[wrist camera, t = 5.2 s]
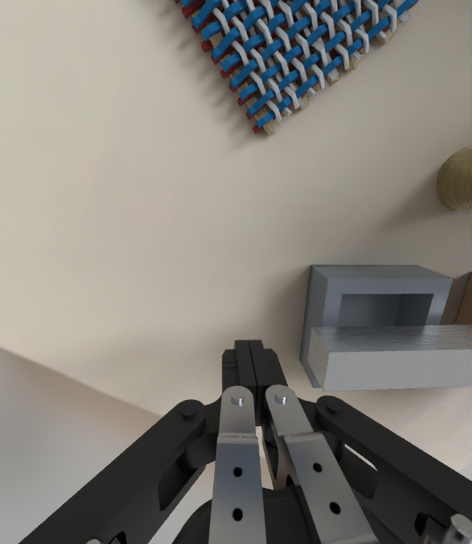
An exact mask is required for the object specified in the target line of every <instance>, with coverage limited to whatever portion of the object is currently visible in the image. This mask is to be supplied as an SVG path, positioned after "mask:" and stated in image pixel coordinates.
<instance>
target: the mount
mask: <svg viewBox="0 0 472 544" xmlns="http://www.w3.org/2000/svg"><path fill="white" fill-rule="evenodd" d="M455 325H472V272H471V275H470V278H469V281H468V284H467V287H466V290H465V293H464V296H463V300H462V303H461V306H460V309H459V312H458V315H457V318H456V322H455Z"/></svg>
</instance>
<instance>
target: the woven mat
mask: <svg viewBox="0 0 472 544" xmlns="http://www.w3.org/2000/svg"><path fill="white" fill-rule="evenodd" d="M179 1H180V0H175V2H176V3H178V2H179ZM418 1H419V0H406V1H404V2H403V0H378V2H377V3H375V0H181V2H182V3H183V5H184V7H183V8H182V13H183V14H184V16H185V18H188V17H189V16H190V15H192V17H193V18H192V24H193V25H192V28H193V30H194V31H195V33H196V35H197V34H198V33H199V32H200V31H201V32H200V33H201V34H202V36H203V37H204V39H205V41H203V42H202V46H201V47H202V48H203V50H204V51H205V52H206V51H209V50H211V49H213V48H214V50H213V51H212V56H211V59H212V61H213V62H214V64H216V63H217V62H219V61H220V62H221V64H220V65H221V66H222V68H223V70H221V71H220V74H221V75H222V77H223V78H224V79H225V78H226V77H227V76H229V77H230V78H231V82H230V85H229V88H230V90H231V91H232V93H233V92H234V91H235V90H236V89H237V90H238V91H239V96H240V98H238V100H237V102H238V103H239V105H240V106H241V105H243V104H244V103H246V104H247V106H248V108H249V109H248V110H247V113H246V116H247V117H248V119H250V118H251V117H253V116H254V117H255V119H256V120H257V122H256V123H257V125H255V126H254V127H253V131H254V132H255V134H256V133H257V132H259V131H260V130H261V129H263V128H264V130H265V131H266V133H267V135H268V136H270V135H272V134H274V133H275V129H276V127H275V124H274V121H273V120H274V119H275V118H276V119H277V122H278V123H280V122H281V121H282V118H281V116H282V117H285V116H286V115H287V116H289V115H290V114H291V113H292V112H291V111H290V110H289V109H288V107H289V106H290V105H292V104H294V107H295V109H297V108H300V109H302V110H303V109H304V108H305V107H306V106H308V102H309V97H308V96H306V95H305V93H307V92H308V93H309V94H310V95H311V96H312V97H313V96H314V95H315V94H316V91H318V90H319V83H320V88H321V89H323V88H324V87H325V83H324V78H325V77H326V78H327V80H328V82H329V84H330V86H332V85H333V84H334V83H336V82H337V81H338V80H339V79H340V77H339V74H338V72H337V70H336V69H337V68H338V67H339V66H340V65H342V64H343V63H344V68H345V70H346V71H350V70H354V69H355V68H356V66H357V64H358V60H359V59H360V58H361V55H360V54H359V53H358V51H360V53H361V54H362V53H364V52H365V53H366V54H367V53H368V52H369V49H370V47H369V42H370V41H371V40H372V39H373V38H375V37H376V38H377V39H378V41H379V42H381V43H384V44H386V43H387V42H388V41H389V40H390V39H391V38H392V35H393V32H394V31H396V29H397V26H398V25H399V24H401V23H402V24H403V25H404V24H405V23H406V22H407V21H408V19H409V15H408V12H407V11H408V10H409V9H410V8H411V7H412V6H414V5H415V4H416V3H417V2H418ZM233 2H234V3H233ZM259 2H260V3H261V4H263V5H262V6H261V7H258V6H256V5H257V4H258V3H259ZM313 5H314V7H315V8H314V9H313V8H312V6H313ZM202 6H203V7H202ZM338 6H340V9H339V10H338ZM361 6H362V7H363V9H364V13H363V14H361ZM282 10H283V11H284V13H283V12H282ZM331 10H332V12H331ZM382 10H384V11H385V12H386V13H387V14H388V17H386V18H384V19H382V17H381V15H380V12H381V11H382ZM216 17H217V18H218V19H219V20H217V21H215V22H213V20H214V19H215V18H216ZM241 19H243V21H244V22H243V23H241V22H240V20H241ZM296 20H298V21H297V22H296V23H294V22H295V21H296ZM319 20H321V22H322V25H320V26H319V27H318V23H317V21H319ZM344 20H345V21H346V22H345V21H344ZM268 21H270V22H269V23H268ZM367 22H369V23H370V26H371V28H372V29H371V30H370V31H368V32H367V33H366V32H365V29H364V25H365V24H366V23H367ZM390 24H391V27H389V25H390ZM339 28H341V29H342V30H343V31H340V29H339ZM256 33H257V35H256ZM303 33H304V35H305V36H306V39H304V38H303V37H302V36H301V35H302V34H303ZM327 34H328V36H329V38H330V41H329V42H328V43H327V44H325V45H324V43H323V41H322V39H323V38H324V37H325V36H326V35H327ZM275 35H278V36H279V37H280V38H279V39H278V40H276V41H273V39H272V38H273V37H274V36H275ZM352 36H353V38H354V40H355V42H354V43H353V41H352ZM250 37H251V38H250ZM248 38H250V39H248ZM299 44H300V45H299ZM261 47H262V48H261ZM234 48H235V49H236V50H237V51H238V52H237V53H235V54H233V55H232V56H231V55H230V53H229V52H231V51H232V50H233V49H234ZM311 48H312V50H313V52H314V54H313V55H311V56H310V52H309V49H311ZM284 49H286V53H287V54H286V55H285V56H284V57H282V55H281V54H280V52H282V51H283V50H284ZM334 49H335V51H336V53H338V54H339V56H338V57H337V58H335V59H334V60H331V57H330V55H329V54H330V53H331V52H332V51H333V50H334ZM260 54H261V55H260ZM243 63H244V66H245V67H244V68H243V69H242V70H241V71H240V70H239V68H238V67H239V66H240V65H241V64H243ZM318 63H319V64H320V66H321V68H322V70H320V69H319V68H318V67H317V64H318ZM266 64H268V66H269V67H270V68H268V67H266V66H265V65H266ZM291 64H293V65H294V66H295V67H296V68H297V69H296V70H294V71H292V72H291V73H290V71H289V69H288V67H289V66H290V65H291ZM249 78H252V79H253V80H254V81H255V82H254V83H252V84H251V85H248V83H247V82H246V81H247V80H248V79H249ZM275 79H277V81H278V82H279V84H278V85H277V84H276V80H275ZM299 79H302V85H301V86H300V87H298V85H297V84H296V81H297V80H299ZM283 91H285V92H286V93H287V94H288V95H289V96H288V97H287V98H285V99H284V100H283V99H282V97H281V93H282V92H283ZM259 92H261V94H262V97H261V98H260V99H259V100H257V98H256V97H255V95H256V94H257V93H259ZM266 105H268V106H269V107H270V108H271V109H272V111H270V112H268V111H266V110H265V109H264V107H265V106H266Z"/></svg>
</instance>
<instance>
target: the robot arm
mask: <svg viewBox="0 0 472 544" xmlns="http://www.w3.org/2000/svg"><path fill="white" fill-rule="evenodd" d="M255 426H261V427H262V432H263V433H262V445H263V449H264V453H265V457H266V460H267V464H268V468H269V472H270V476H271V480H272V484H273V489H274V490H271V489H267V488H263V487H262V483H261V469H260V457H259V445H258V437H256V428H255ZM345 444H347V445H348V446H349V447H351V448H352V449H353V450H355V451H356V452H357V453H359V454H360V455H361V456H363V457H364V458H365V459H367V460H368V461H369V462H371V463H372V464H373V465H374V466H375V468H376V469H377V470H375V469H374V468H373V467H371V466H370V465H369V464H367V463H366V462H365V461H363V460H362V459H361V458H359V457H358V456H357V455H355V454H354V453H353V452H351V451H350V450H349V449H347V448H346V447H345ZM213 461H216V462H215V475H214V485H213V497H212V499H211V500H209V501H207V502H206V503H204V504H203V505H202V506H200V507H199V508H198V509H197V510H196V511H195V512H194V513H193V514H192V515H191V516H190V518H189V519H188V520H187V522H186V523H185V524H184V526H183V527H182V529H181V531H180V532H179V534H178V535H177V537H176V538H175V540H174V541H173V543H172V544H472V481H471V480H469V479H467V478H466V477H464V476H462V475H461V474H459V473H458V472H456V471H455V470H453V469H451V468H450V467H448V466H446V465H445V464H443V463H442V462H440V461H438V460H437V459H435V458H434V457H432V456H430V455H429V454H427V453H426V452H424V451H422V450H421V449H419V448H418V447H416V446H414V445H413V444H411V443H410V442H408V441H406V440H405V439H403V438H402V437H400V436H398V435H397V434H395V433H393V432H392V431H390V430H389V429H387V428H385V427H384V426H382V425H381V424H379V423H377V422H376V421H374V420H373V419H371V418H369V417H368V416H366V415H365V414H363V413H361V412H360V411H358V410H357V409H355V408H353V407H352V406H350V405H349V404H347V403H345V402H344V401H342V400H340V399H339V398H336V397H333V396H322V397H320V398H319V399H318V400H317V402H316V403H314V402H310V401H305V400H302V399H300V398H298V397H297V396H296V394H295V392H294V391H293V390H292V389H290V388H289V387H288V385H287V382H286V379H285V377H284V374H283V371H282V368H281V366H280V363H279V360H278V357H277V354H276V353H275V352H274V351H273V350H272V349H264V348H263V344H262V341H261V340H235V344H234V349H229V350H225V352H224V353H223V355H222V395H221V397H220V398H219V399H218V400H217V401H215V402H213V403H211V404H208V405H205V406H204V405H203V404H202V403H201V402H200V401H197V400H191V399H190V400H185V401H182V402H180V403H179V404H177V405H176V406H175V407H174V408H173V409H172V410H170V411H169V412H168V413H167V414H166V415H165V416H164V417H162V418H161V419H160V420H159V421H158V422H157V423H156V424H155V425H153V426H152V427H151V428H150V429H149V430H148V431H147V432H145V433H144V434H143V435H142V436H141V437H140V438H138V439H137V440H136V441H135V442H134V443H133V444H132V445H131V446H129V447H128V448H127V449H126V450H125V451H124V452H123V453H121V454H120V455H119V456H118V457H117V458H116V459H115V460H113V461H112V462H111V463H110V464H109V465H108V466H107V467H105V468H104V469H103V470H102V471H101V472H100V473H99V474H97V475H96V476H95V477H94V478H93V479H92V480H91V481H89V482H88V483H87V484H86V485H85V486H84V487H83V488H81V489H80V490H79V491H78V492H77V493H76V494H75V495H73V496H72V497H71V498H70V499H69V500H68V501H67V502H65V503H64V504H63V505H62V506H61V507H60V508H59V509H58V510H56V511H55V512H54V513H53V514H52V515H51V516H49V517H48V518H47V519H46V520H45V521H44V522H43V523H42V524H40V525H39V526H38V527H37V528H36V529H35V530H34V531H32V532H31V533H30V534H29V535H28V536H27V537H25V538H24V539H23V540H22V541H21V542H20V543H19V544H148V543H149V541H150V540H151V539H152V537H153V536H154V535H155V533H156V532H157V531H158V529H159V528H160V527H161V526H162V524H163V523H164V521H165V520H166V519H167V518H168V517H169V515H170V514H171V513H172V511H173V510H174V509H175V507H176V506H177V505H178V504H179V502H180V501H181V500H182V498H183V497H184V496H185V494H186V493H187V492H188V490H189V489H190V488H191V487H192V485H193V484H194V483H195V481H196V480H197V479H198V477H199V476H200V475H201V474H202V472H203V471H204V469H205V467H206V464H209V463H211V462H213Z"/></svg>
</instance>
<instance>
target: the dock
mask: <svg viewBox="0 0 472 544" xmlns="http://www.w3.org/2000/svg"><path fill="white" fill-rule="evenodd" d="M452 282H453V278H451V277H448V276H445V275H442V274H439V273H437V272H434V271H431V270H428V269H426V268H423V267H420V266H417V265H311V267H310V275H309V284H308V292H307V301H306V309H305V318H304V327H303V335H302V344H301V352H300V362H301V364H302V366H303V368H304V370H305V372H306V374H307V376H308V378H309V380H310V382H311V384H312V386H313V388H319V387H321V386H320V384H319V382H318V380H317V378H316V376H315V375H314V373H313V371H312V369H311V367H310V365H309V363H308V362H307V360H308V352H309V344H310V336H311V329H312V327H358V326H425V325H440V322H441V318H442V315H443V312H444V308H445V305H446V302H447V298H448V295H449V292H450V288H451V285H452Z"/></svg>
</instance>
